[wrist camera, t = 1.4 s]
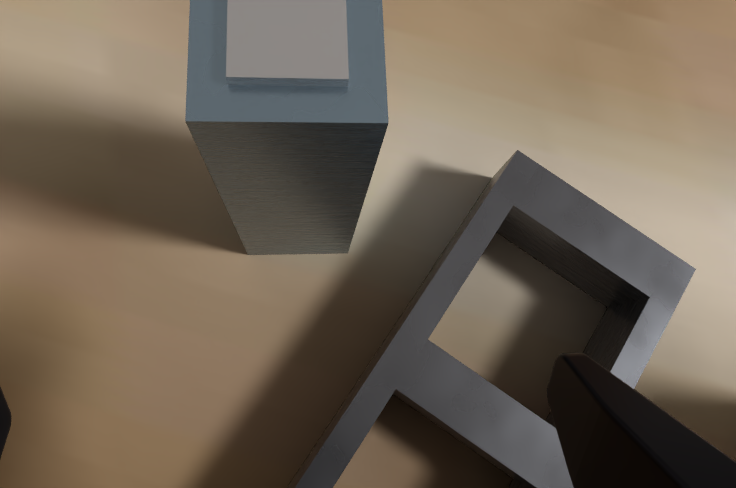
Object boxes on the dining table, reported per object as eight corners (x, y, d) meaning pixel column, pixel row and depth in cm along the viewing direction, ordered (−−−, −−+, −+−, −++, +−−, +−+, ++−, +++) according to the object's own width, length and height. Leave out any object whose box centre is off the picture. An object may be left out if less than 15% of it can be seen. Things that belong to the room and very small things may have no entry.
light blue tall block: (347, 253, 23) (390, 116, 11) (248, 254, 23) (182, 114, 11) (344, 161, 24) (381, -56, 12) (248, 161, 24) (189, -64, 12)
